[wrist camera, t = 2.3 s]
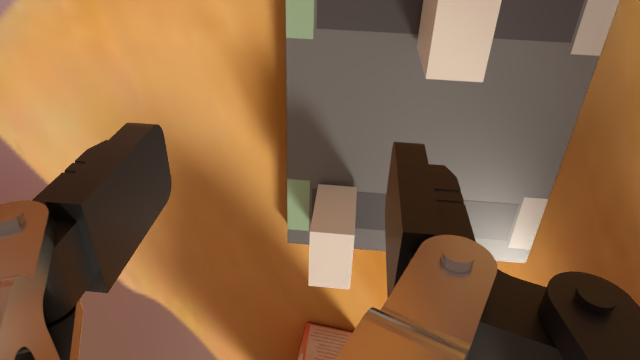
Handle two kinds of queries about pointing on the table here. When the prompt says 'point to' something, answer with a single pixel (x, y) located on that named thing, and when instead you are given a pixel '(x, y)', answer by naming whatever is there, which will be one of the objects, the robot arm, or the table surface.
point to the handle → (332, 236)
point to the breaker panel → (436, 110)
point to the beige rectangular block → (456, 38)
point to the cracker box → (322, 342)
